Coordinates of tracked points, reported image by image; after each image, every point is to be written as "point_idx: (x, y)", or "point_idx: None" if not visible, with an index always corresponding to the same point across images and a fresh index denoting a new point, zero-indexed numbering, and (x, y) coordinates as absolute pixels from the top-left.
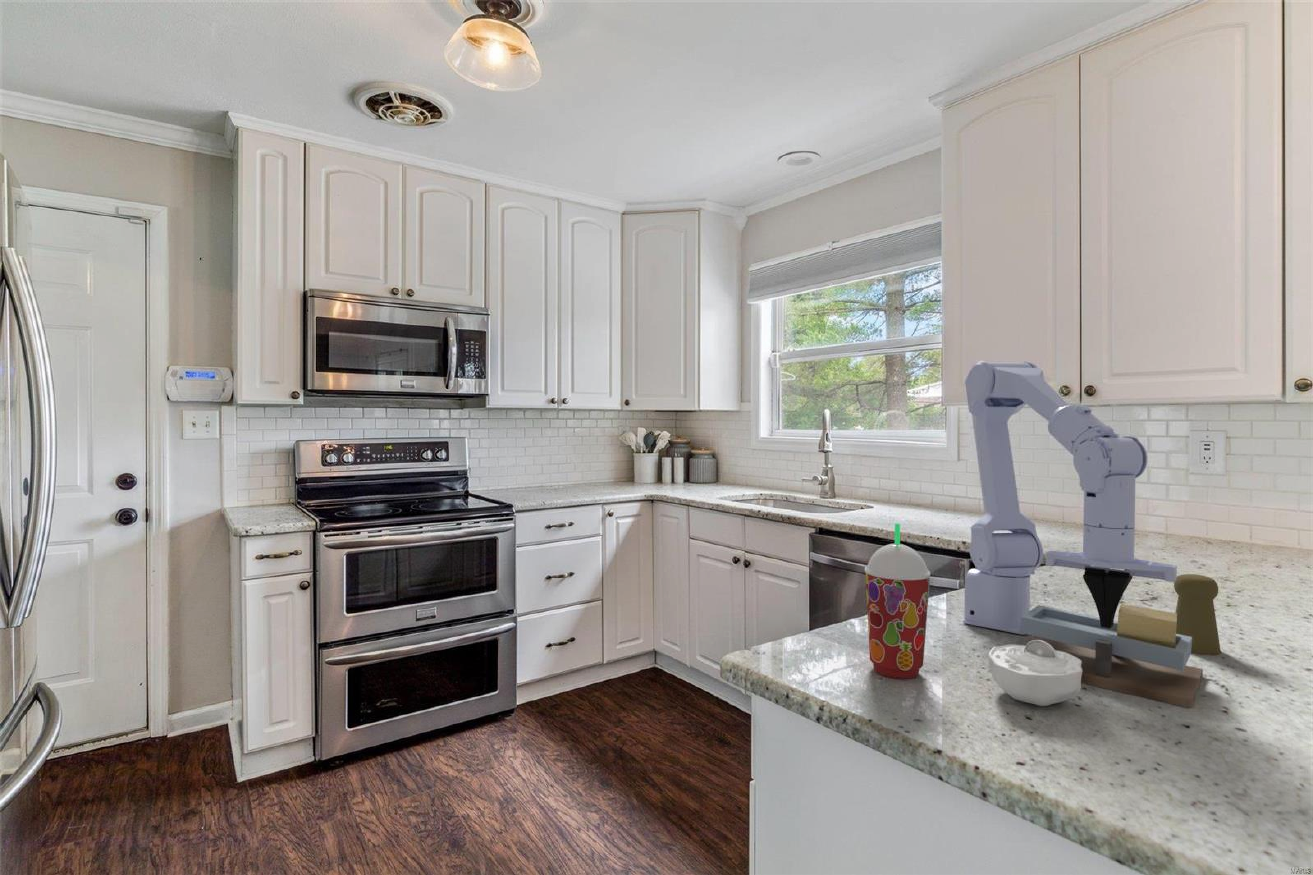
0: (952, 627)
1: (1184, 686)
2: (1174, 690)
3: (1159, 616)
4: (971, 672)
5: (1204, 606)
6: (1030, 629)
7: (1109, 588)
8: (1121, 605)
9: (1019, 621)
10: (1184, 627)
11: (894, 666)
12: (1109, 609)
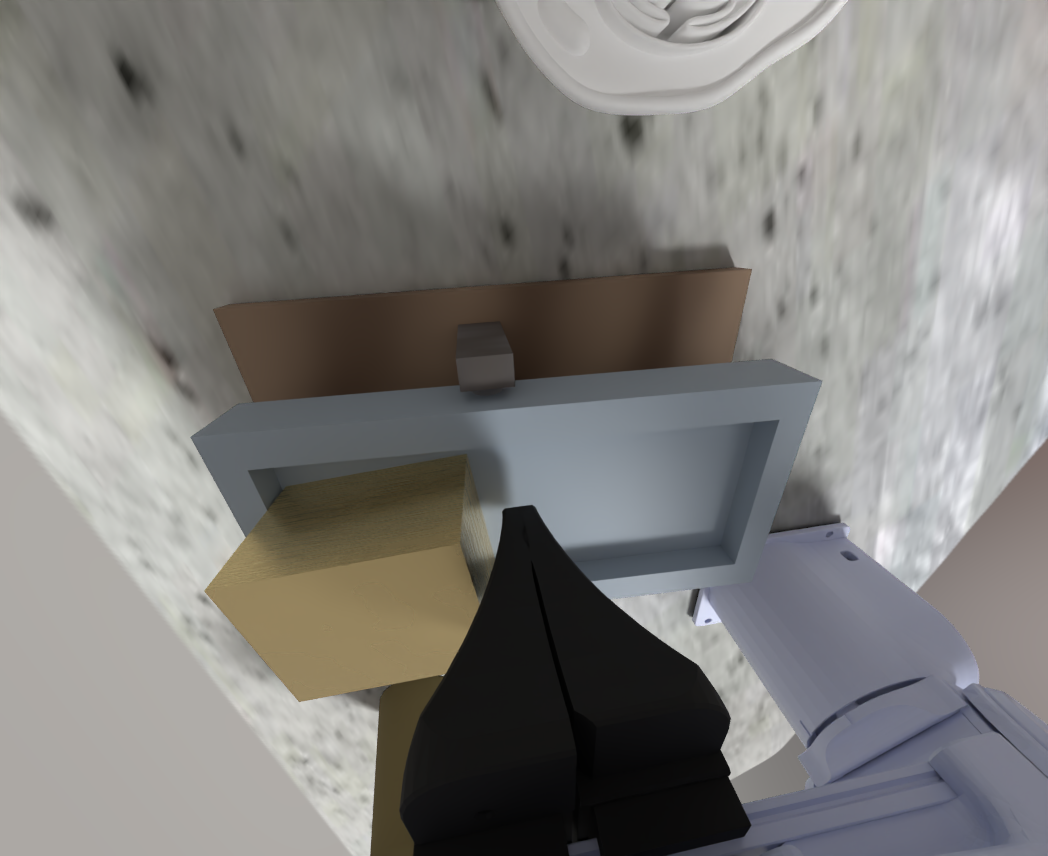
0: (867, 481)
1: None
2: (288, 363)
3: (305, 616)
4: (840, 75)
5: (382, 826)
6: (751, 369)
7: (521, 664)
8: None
9: None
10: None
11: None
12: (510, 561)
